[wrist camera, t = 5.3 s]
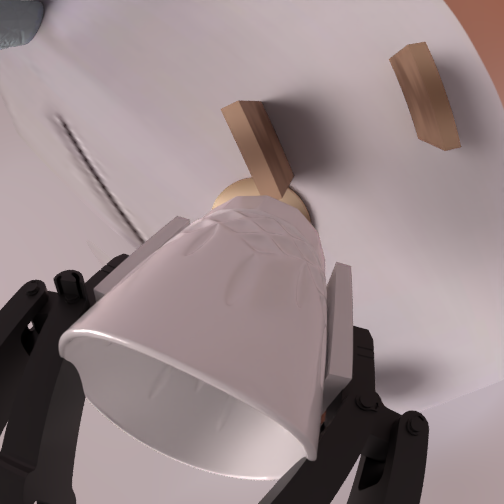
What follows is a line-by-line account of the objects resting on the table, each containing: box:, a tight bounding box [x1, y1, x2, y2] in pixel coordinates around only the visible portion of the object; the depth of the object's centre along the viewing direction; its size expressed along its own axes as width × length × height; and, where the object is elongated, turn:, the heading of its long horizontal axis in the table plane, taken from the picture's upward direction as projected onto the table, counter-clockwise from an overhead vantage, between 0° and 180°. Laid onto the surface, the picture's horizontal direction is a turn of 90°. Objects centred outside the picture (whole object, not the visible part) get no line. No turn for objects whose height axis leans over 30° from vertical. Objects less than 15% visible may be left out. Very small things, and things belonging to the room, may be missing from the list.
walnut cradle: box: [221, 42, 461, 200], centre depth 20 cm, size 8×16×7 cm, turn 115°
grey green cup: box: [0, 0, 44, 50], centre depth 17 cm, size 10×10×12 cm
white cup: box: [58, 195, 327, 480], centre depth 11 cm, size 8×8×10 cm
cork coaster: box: [212, 178, 311, 223], centre depth 30 cm, size 11×11×1 cm
